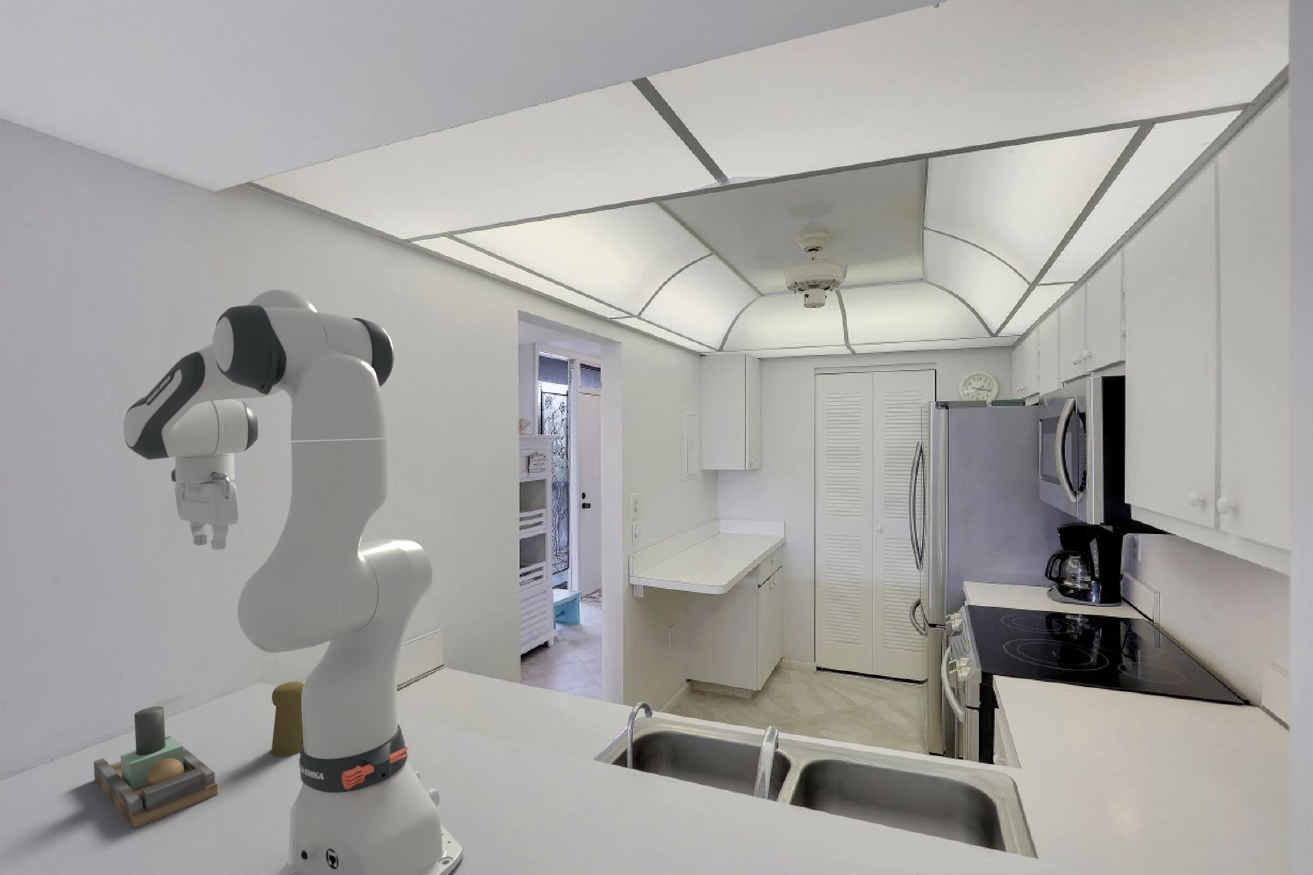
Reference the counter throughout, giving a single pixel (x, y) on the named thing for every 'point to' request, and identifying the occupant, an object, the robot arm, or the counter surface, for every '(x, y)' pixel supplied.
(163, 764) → the walnut
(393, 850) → the robot arm
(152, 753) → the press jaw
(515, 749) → the counter surface
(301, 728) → the cork
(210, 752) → the counter surface
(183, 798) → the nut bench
